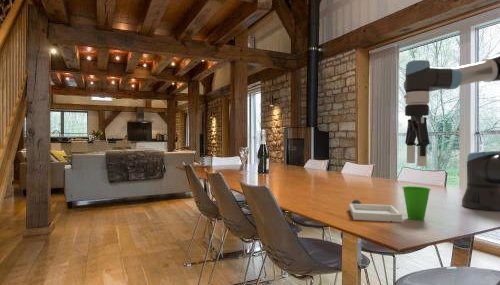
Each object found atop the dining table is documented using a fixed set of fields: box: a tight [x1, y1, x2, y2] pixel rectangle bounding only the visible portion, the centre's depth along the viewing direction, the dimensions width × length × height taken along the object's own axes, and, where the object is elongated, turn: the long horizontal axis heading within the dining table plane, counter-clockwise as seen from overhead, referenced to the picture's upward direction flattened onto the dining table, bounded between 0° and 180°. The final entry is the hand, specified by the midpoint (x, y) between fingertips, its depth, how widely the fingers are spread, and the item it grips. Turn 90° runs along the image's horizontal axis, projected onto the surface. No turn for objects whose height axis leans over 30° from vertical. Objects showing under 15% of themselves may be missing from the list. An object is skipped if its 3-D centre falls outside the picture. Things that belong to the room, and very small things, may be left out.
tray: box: [348, 203, 403, 223], centre depth 121 cm, size 16×16×2 cm
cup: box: [401, 185, 431, 221], centre depth 116 cm, size 9×9×11 cm
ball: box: [351, 199, 362, 204], centre depth 133 cm, size 4×4×4 cm
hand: (415, 164), depth 116 cm, fingers open, 13 cm apart
